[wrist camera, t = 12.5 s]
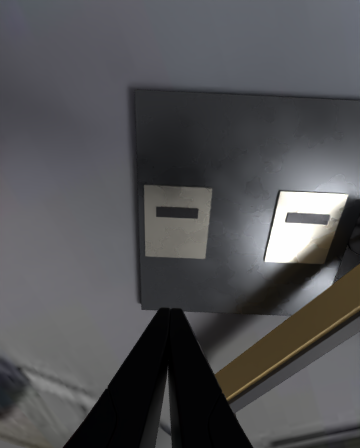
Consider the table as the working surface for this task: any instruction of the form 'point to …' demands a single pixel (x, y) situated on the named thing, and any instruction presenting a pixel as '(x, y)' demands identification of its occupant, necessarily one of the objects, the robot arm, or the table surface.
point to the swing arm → (294, 343)
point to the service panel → (244, 199)
